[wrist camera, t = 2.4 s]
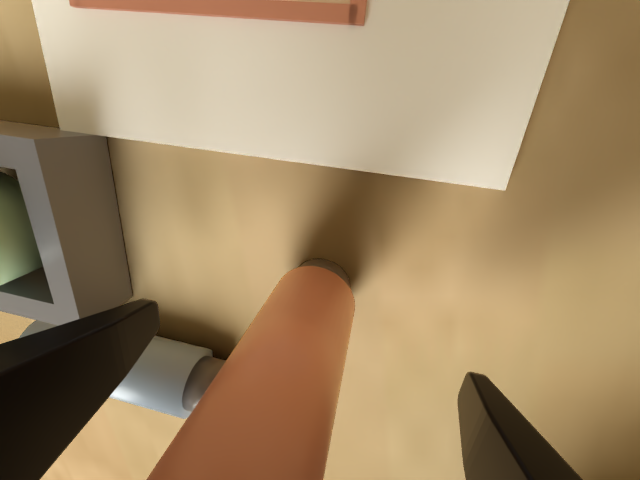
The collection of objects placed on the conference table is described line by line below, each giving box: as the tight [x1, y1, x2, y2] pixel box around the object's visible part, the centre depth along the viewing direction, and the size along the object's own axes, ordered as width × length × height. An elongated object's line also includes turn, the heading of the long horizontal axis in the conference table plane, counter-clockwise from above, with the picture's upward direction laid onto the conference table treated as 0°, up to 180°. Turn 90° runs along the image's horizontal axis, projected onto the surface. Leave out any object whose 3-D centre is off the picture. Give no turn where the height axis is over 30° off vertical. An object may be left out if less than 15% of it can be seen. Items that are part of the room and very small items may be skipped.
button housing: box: [0, 120, 133, 326], centre depth 12 cm, size 7×7×2 cm
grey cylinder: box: [20, 320, 226, 419], centre depth 14 cm, size 9×3×3 cm
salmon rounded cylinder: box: [147, 259, 355, 480], centre depth 8 cm, size 3×3×9 cm
